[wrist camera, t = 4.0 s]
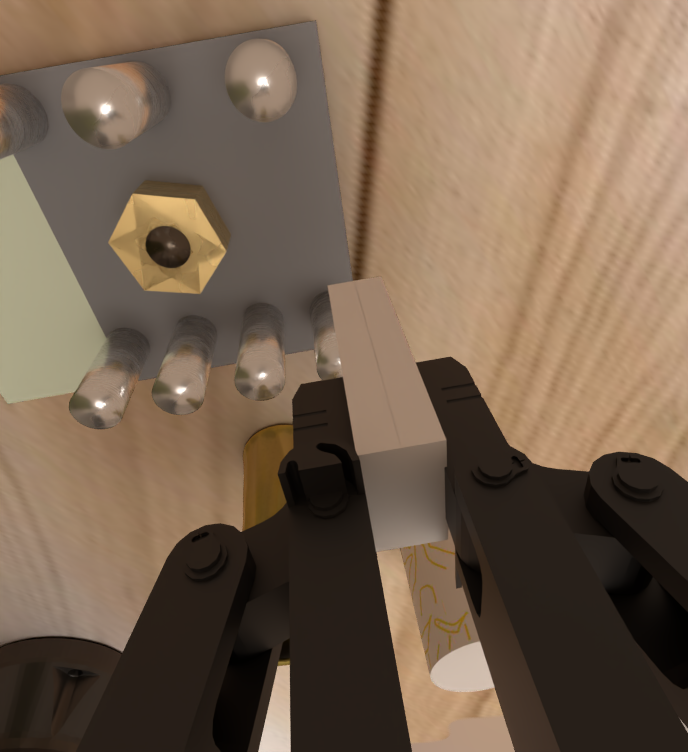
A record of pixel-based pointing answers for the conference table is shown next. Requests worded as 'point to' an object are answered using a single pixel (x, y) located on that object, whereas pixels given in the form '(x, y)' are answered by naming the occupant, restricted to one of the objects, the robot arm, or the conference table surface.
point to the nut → (170, 237)
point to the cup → (445, 618)
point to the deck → (175, 165)
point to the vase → (265, 484)
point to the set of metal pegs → (192, 333)
